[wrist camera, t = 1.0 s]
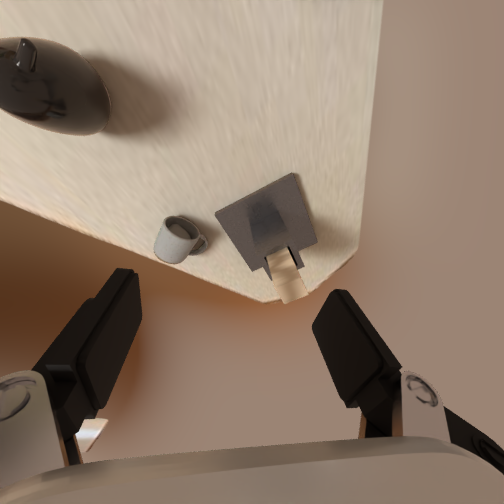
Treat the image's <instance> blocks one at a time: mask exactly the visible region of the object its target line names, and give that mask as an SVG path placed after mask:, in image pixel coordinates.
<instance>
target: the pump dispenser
mask: <svg viewBox="0 0 504 504" xmlns="http://www.w3.org/2000/svg"><path fill="white" fill-rule="evenodd" d="M0 109H1V110H2V111H4V112H6V113H7V114H9V115H11V116H13V117H15V118H17V119H19V120H21V121H23V122H25V123H28V124H30V125H33V126H35V127H38V128H41V129H44V130H48V131H51V132H55V133H60V134H67V135H75V136H87V135H93V134H96V133H98V132H100V131H101V130H103V129H104V128H105V126H106V125H107V123H108V121H109V118H110V113H111V101H110V97H109V94H108V91H107V89H106V86H105V85H104V83H103V81H102V79H101V78H100V76H99V75H98V73H97V72H96V71H95V69H94V68H93V67H92V66H91V65H90V63H89V62H88V61H87V60H85V59H84V58H83V57H82V56H81V55H80V54H78V53H77V52H75V51H74V50H72V49H70V48H69V47H67V46H64V45H62V44H60V43H57V42H54V41H50V40H46V39H40V38H33V37H9V38H1V39H0Z"/></svg>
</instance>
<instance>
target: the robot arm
mask: <svg viewBox="0 0 504 504" xmlns="http://www.w3.org/2000/svg"><path fill="white" fill-rule="evenodd" d="M141 320H142V308H141V298H140V288H139V278H138V274H137V273H134V271H133V270H132V269H123V268H117V269H116V270H115V271H114V273H113V274H112V275H111V276H110V278H109V279H108V281H107V282H106V283H105V285H104V286H103V287H102V289H101V290H100V291H99V293H98V294H97V295H96V297H95V298H89V299H87V300H86V301H85V302H84V303H83V304H82V306H81V307H80V308H79V310H78V311H77V312H76V314H75V315H74V316H73V317H72V319H71V320H70V321H69V322H68V324H67V325H66V326H65V327H64V329H63V330H62V331H61V333H60V334H59V335H58V336H57V338H56V339H55V340H54V342H53V343H52V344H51V345H50V347H49V348H48V349H47V350H46V352H45V353H44V354H43V356H42V357H41V358H40V360H39V361H38V362H37V363H36V365H35V366H34V367H33V368H32V370H31V371H27V370H26V371H20V372H15V373H12V374H9V375H7V376H4V377H2V378H0V504H504V450H503V449H502V448H501V447H500V446H499V445H497V444H496V443H495V442H494V441H493V440H492V439H491V438H489V437H488V436H487V435H485V434H484V433H482V432H481V431H479V430H478V429H477V428H475V427H474V426H472V425H471V424H469V423H468V422H466V421H465V420H463V419H462V418H460V417H459V416H458V415H456V414H454V413H453V412H452V411H450V410H449V409H447V408H446V407H444V406H443V402H442V400H441V397H440V396H439V394H438V392H437V391H436V390H435V388H434V387H433V386H432V385H431V384H430V383H429V382H428V381H427V380H426V379H424V378H423V377H421V376H420V375H418V374H416V373H414V372H411V371H404V372H403V373H402V374H401V372H400V371H399V370H400V369H401V368H402V366H401V364H400V363H399V362H398V360H397V359H396V358H395V356H394V355H393V354H392V352H391V350H390V349H389V348H388V346H387V345H386V343H385V342H384V341H383V339H382V338H381V337H380V335H379V334H378V332H377V331H376V330H375V328H374V327H373V325H372V324H371V323H370V321H369V320H368V318H367V317H366V316H365V314H364V313H363V311H362V310H361V309H360V307H359V306H358V304H357V303H356V302H355V300H354V299H353V297H352V296H351V295H350V293H349V292H348V291H347V290H341V289H335V290H333V291H332V292H331V293H330V294H329V296H328V298H327V299H326V301H325V303H324V305H323V306H322V308H321V310H320V312H319V313H318V315H317V317H316V319H315V320H314V322H313V324H312V330H313V333H314V336H315V338H316V340H317V343H318V345H319V348H320V350H321V353H322V355H323V357H324V360H325V362H326V365H327V367H328V369H329V372H330V374H331V377H332V379H333V382H334V384H335V387H336V389H337V392H338V394H339V396H340V398H341V399H342V400H343V401H344V403H345V405H346V407H347V408H357V407H358V406H359V407H360V409H361V411H362V413H361V420H360V428H359V436H358V439H350V440H337V441H323V442H309V443H297V444H285V445H271V446H259V447H246V448H235V449H222V450H211V451H198V452H187V453H174V454H163V455H153V456H143V457H133V458H124V459H114V460H104V461H98V462H91V463H85V464H84V463H83V460H82V456H81V453H80V449H79V446H78V442H77V439H76V435H75V434H76V433H77V432H79V429H80V427H81V425H82V423H83V421H84V419H95V417H96V415H97V412H98V410H99V409H103V408H104V407H105V405H106V404H107V401H108V399H109V397H110V394H111V392H112V389H113V387H114V385H115V382H116V380H117V378H118V375H119V373H120V371H121V368H122V366H123V363H124V361H125V359H126V356H127V354H128V351H129V349H130V347H131V344H132V342H133V340H134V337H135V335H136V333H137V330H138V328H139V325H140V323H141Z"/></svg>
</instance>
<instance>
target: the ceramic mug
mask: <svg viewBox="0 0 504 504" xmlns="http://www.w3.org/2000/svg"><path fill="white" fill-rule="evenodd" d="M199 238H201V239H202V240H204V241H205V242H204V243H203V245H202V246H201V247H200V248H199V249H197V250H192V248H193V247H194V245H195V244H196V243H197V241H198V240H199ZM207 246H208V242H207V239H206V237H205V236H204V235H202V234H200V231H199V230H198V228H197V227H196V226H195V225H194V224H193V223H192V222H190V221H188V220H186V219H184V218H182V217H178V216H169V217H167V218H166V219H165V220H164V221H163V224H162V226H161V228H160V231H159V233H158V236H157V238H156V240H155V243H154V253H155V255H156V256H157V257H158V258H159V259H160V260H161V261H163V262H166V263H169V264H178V263H181V262H182V261H183V260H184V259H185V258H186V257H187V256H188V255H192V256H193V255H198V254H201V253H202V252H204V251H205V250H206V248H207ZM191 250H192V251H191Z"/></svg>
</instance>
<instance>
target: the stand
mask: <svg viewBox="0 0 504 504" xmlns="http://www.w3.org/2000/svg"><path fill="white" fill-rule="evenodd" d="M215 217H216V218H217V220H218V221H219V223H220V224H221V226H222V227H223V229H224V230H225V232H226V233H227V235H228V236H229V238H230V239H231V241H232V242H233V244H234V245H235V247H236V248H237V250H238V251H239V253H240V254H241V256H242V257H243V259H244V260H245V262H246V263H247V265H248V266H249V268H250V269H251V271H255V270H257V269H259V268H261V267H263V268H264V269H265V271H266V273H267V274H268V276H269V278H270V279H271V281H272V276H271V272H270V269H269V265H268V261H267V257H266V256H268V255H270V254H273V253H275V252H277V251H279V250H281V249H284V248H286V247H288V249H289V252H290V254H291V256H292V258H293V261H294V263H295V265H296V267H297V269H300V268H302V267H305V266H304V264H303V262H302V259H301V257H300V255H299V253H298V251H299V250H302V249H304V248H306V247H308V246H311V245H313V244H315V243H317V239H316V236H315V233H314V230H313V228H312V225H311V222H310V219H309V216H308V214H307V211H306V208H305V205H304V202H303V200H302V197H301V194H300V191H299V188H298V186H297V183H296V180H295V177H294V174H293V173H290V174H288V175H286V176H284V177H282V178H280V179H278V180H276V181H274V182H273V183H271V184H269V185H267V186H265V187H263V188H261V189H259V190H257V191H255V192H253V193H252V194H250V195H248V196H246V197H244V198H242V199H240V200H238V201H236V202H234V203H232V204H231V205H229V206H227V207H225V208H223V209H221V210H219V211H217V212H215Z"/></svg>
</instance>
